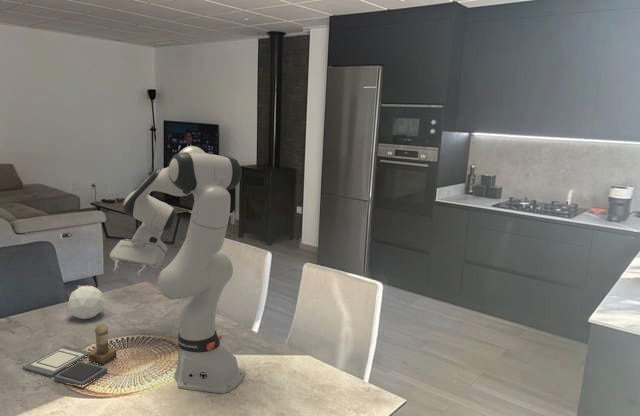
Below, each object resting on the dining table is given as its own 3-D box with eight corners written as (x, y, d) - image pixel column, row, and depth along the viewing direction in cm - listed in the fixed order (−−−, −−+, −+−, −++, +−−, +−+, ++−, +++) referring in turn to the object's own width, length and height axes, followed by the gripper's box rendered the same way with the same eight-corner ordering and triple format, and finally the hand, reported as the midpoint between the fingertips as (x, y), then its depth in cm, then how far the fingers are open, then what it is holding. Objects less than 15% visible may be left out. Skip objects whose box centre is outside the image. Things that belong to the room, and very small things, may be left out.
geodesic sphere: (52, 305, 186) (67, 282, 181) (78, 294, 199) (93, 272, 194) (76, 331, 184) (92, 308, 180) (101, 318, 197) (117, 296, 193)
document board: (91, 354, 161) (91, 352, 161) (51, 377, 146) (50, 374, 146) (64, 347, 165) (64, 345, 165) (22, 369, 150) (22, 366, 150)
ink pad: (107, 372, 150) (106, 367, 150) (82, 388, 141) (81, 382, 141) (80, 365, 154) (80, 360, 153) (54, 380, 144) (54, 375, 144)
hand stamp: (116, 357, 160) (115, 322, 158) (103, 365, 154) (101, 330, 152) (102, 353, 162) (101, 319, 160) (88, 361, 156) (87, 326, 154)
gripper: (117, 233, 173) (98, 265, 166) (163, 240, 167) (145, 274, 159) (126, 242, 178) (107, 274, 171) (171, 249, 172) (154, 283, 164)
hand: (126, 274), depth 165 cm, fingers open, 8 cm apart
